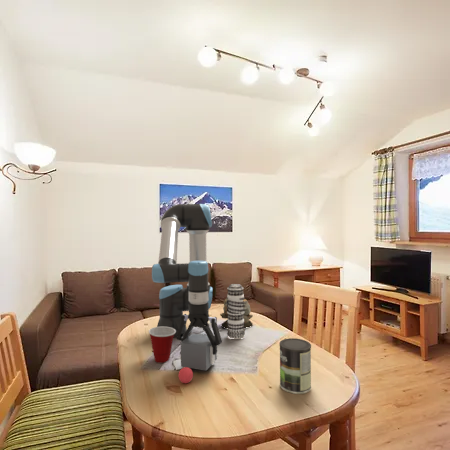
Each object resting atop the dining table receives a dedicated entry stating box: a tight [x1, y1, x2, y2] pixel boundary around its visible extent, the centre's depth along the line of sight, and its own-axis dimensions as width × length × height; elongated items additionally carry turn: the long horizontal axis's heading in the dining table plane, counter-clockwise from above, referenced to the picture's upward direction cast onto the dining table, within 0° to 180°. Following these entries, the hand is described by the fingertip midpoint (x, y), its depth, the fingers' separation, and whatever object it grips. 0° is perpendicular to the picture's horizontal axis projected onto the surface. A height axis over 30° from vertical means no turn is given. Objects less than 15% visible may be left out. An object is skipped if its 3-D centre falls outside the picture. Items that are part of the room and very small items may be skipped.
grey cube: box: [180, 333, 218, 371], centre depth 119 cm, size 10×10×9 cm
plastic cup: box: [148, 326, 176, 364], centre depth 126 cm, size 11×11×12 cm
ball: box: [178, 367, 194, 384], centre depth 108 cm, size 5×5×5 cm
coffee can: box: [278, 337, 312, 395], centre depth 104 cm, size 10×10×14 cm
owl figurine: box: [219, 298, 254, 329], centre depth 168 cm, size 18×12×17 cm, turn 108°
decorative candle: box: [225, 283, 246, 340], centre depth 151 cm, size 9×9×25 cm
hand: (199, 360), depth 119 cm, fingers closed on grey cube, 10 cm apart
